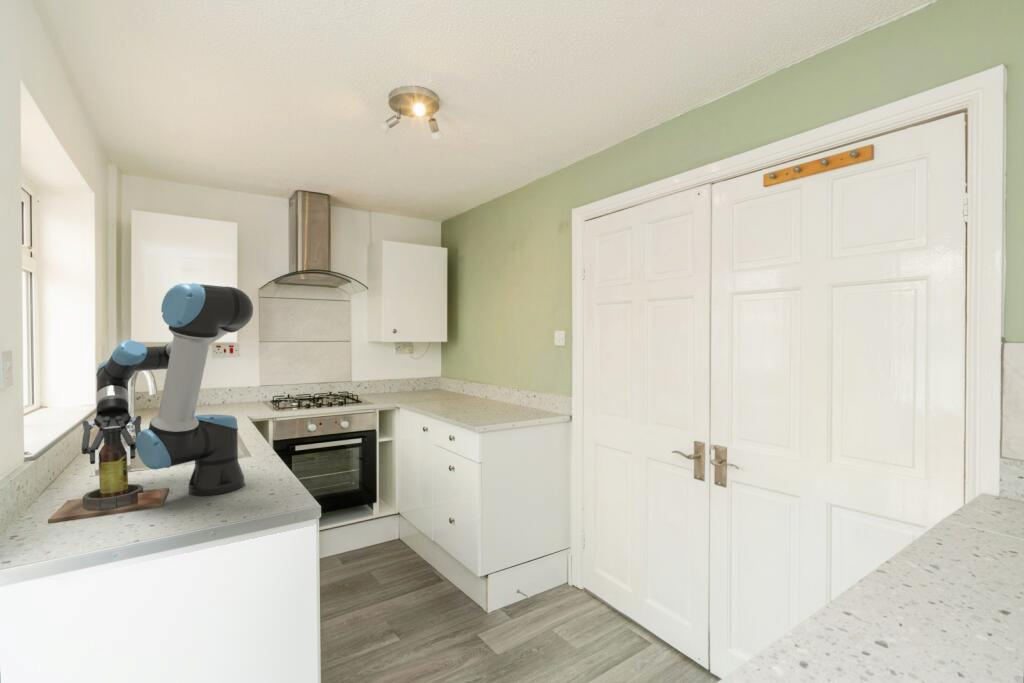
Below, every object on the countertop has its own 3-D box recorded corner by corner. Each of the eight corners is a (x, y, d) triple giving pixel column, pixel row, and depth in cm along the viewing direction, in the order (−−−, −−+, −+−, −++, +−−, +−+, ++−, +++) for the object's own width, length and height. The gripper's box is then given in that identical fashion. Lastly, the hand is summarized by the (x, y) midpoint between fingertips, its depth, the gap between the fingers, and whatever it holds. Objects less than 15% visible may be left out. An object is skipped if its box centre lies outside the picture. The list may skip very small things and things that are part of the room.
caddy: (169, 490, 152) (169, 477, 152) (161, 507, 138) (161, 492, 138) (67, 503, 140) (67, 490, 140) (48, 523, 126) (47, 507, 126)
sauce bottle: (130, 496, 139) (128, 427, 139) (101, 502, 135) (100, 430, 134) (125, 491, 144) (124, 423, 143) (98, 496, 139) (96, 427, 139)
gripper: (151, 408, 156) (155, 471, 144) (71, 415, 145) (67, 484, 132) (152, 394, 152) (156, 457, 140) (69, 399, 140) (65, 469, 128)
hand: (113, 470), depth 136 cm, fingers closed on sauce bottle, 6 cm apart
